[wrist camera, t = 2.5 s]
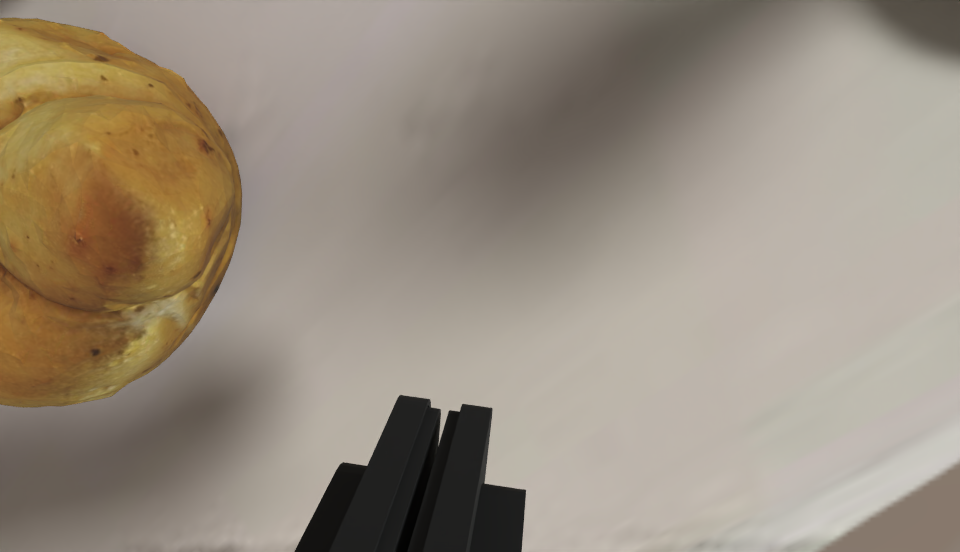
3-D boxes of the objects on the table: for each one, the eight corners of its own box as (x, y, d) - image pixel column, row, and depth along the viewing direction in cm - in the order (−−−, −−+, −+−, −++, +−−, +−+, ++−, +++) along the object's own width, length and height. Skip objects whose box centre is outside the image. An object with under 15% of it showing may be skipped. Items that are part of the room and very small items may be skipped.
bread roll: (170, 407, 25) (7, 571, 18) (-58, 267, 24) (-337, 381, 16) (327, 142, 20) (194, 214, 13) (51, -52, 19) (-273, -95, 11)
